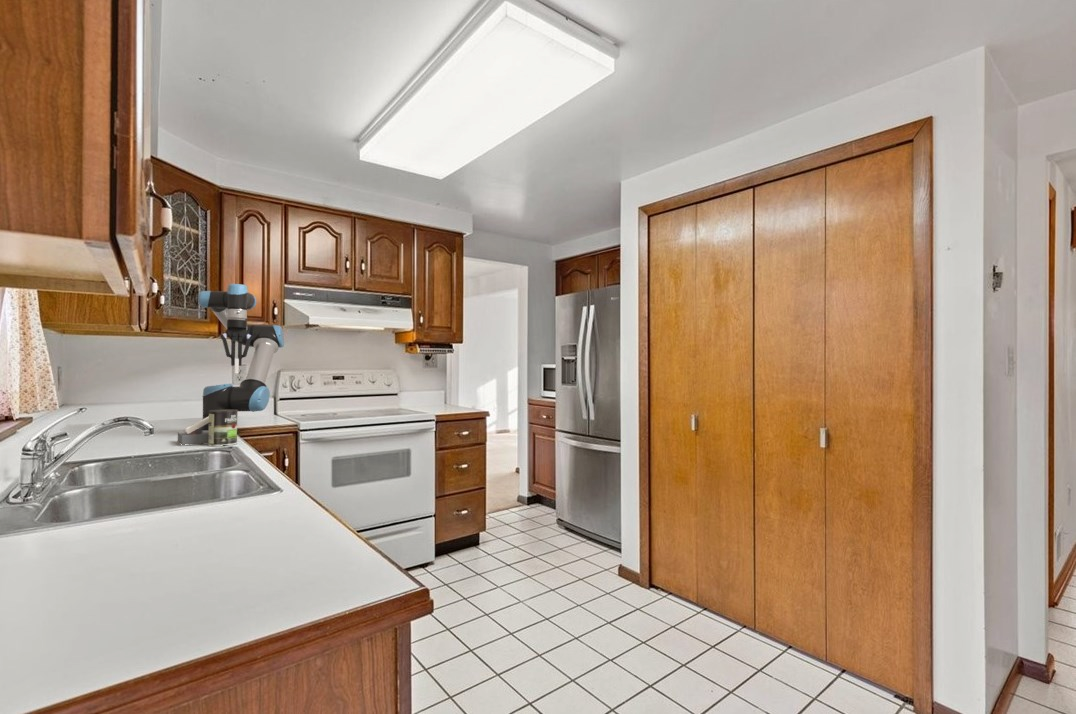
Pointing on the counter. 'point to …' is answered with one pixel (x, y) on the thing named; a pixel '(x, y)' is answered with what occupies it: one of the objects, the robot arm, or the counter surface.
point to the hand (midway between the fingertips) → (236, 373)
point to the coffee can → (222, 427)
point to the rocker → (197, 425)
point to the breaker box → (193, 437)
